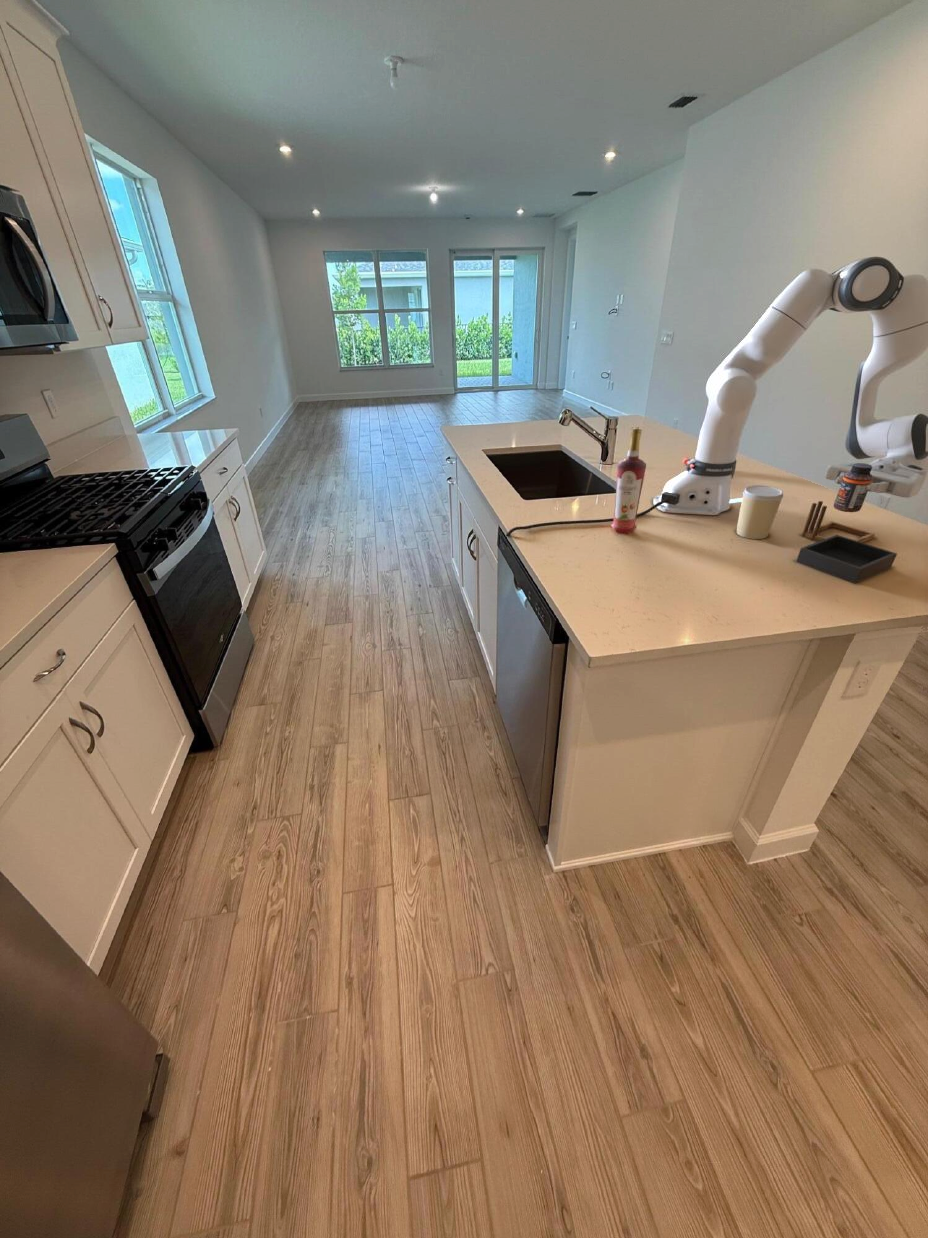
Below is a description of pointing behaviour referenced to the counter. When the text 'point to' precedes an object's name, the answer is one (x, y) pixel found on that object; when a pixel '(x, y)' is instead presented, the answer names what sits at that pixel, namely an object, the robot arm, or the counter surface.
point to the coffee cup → (758, 511)
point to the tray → (846, 558)
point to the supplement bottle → (853, 488)
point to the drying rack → (828, 525)
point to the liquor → (629, 486)
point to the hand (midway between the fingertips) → (853, 484)
